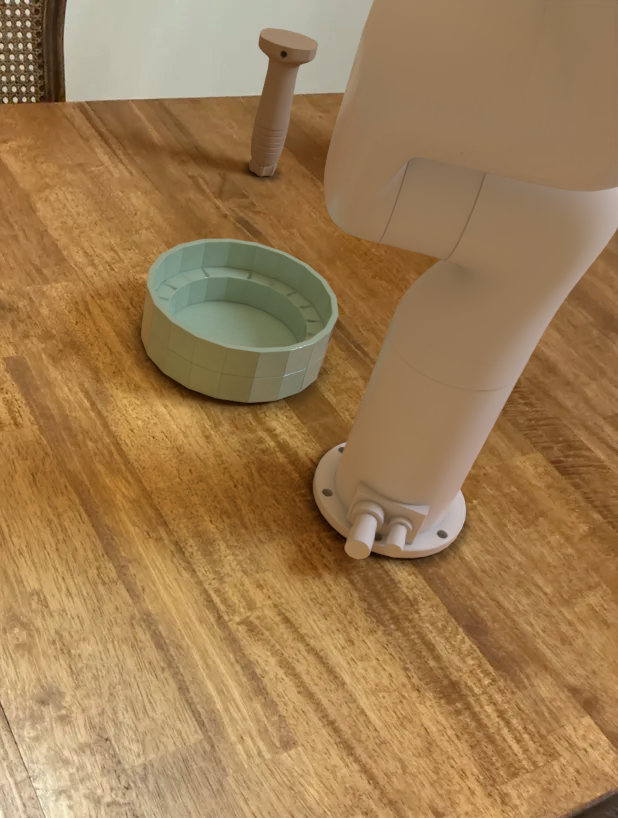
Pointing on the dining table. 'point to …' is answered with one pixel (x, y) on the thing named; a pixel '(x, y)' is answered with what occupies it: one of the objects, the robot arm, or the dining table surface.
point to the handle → (277, 95)
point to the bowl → (237, 319)
